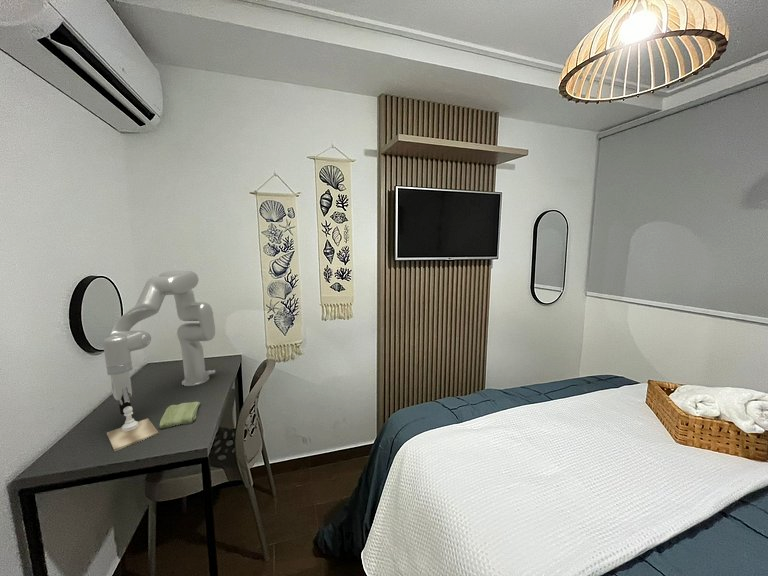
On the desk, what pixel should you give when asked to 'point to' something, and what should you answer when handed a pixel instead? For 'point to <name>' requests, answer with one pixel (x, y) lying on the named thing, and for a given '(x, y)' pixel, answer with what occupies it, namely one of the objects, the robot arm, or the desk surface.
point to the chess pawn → (129, 420)
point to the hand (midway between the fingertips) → (126, 412)
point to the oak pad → (131, 435)
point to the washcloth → (179, 414)
